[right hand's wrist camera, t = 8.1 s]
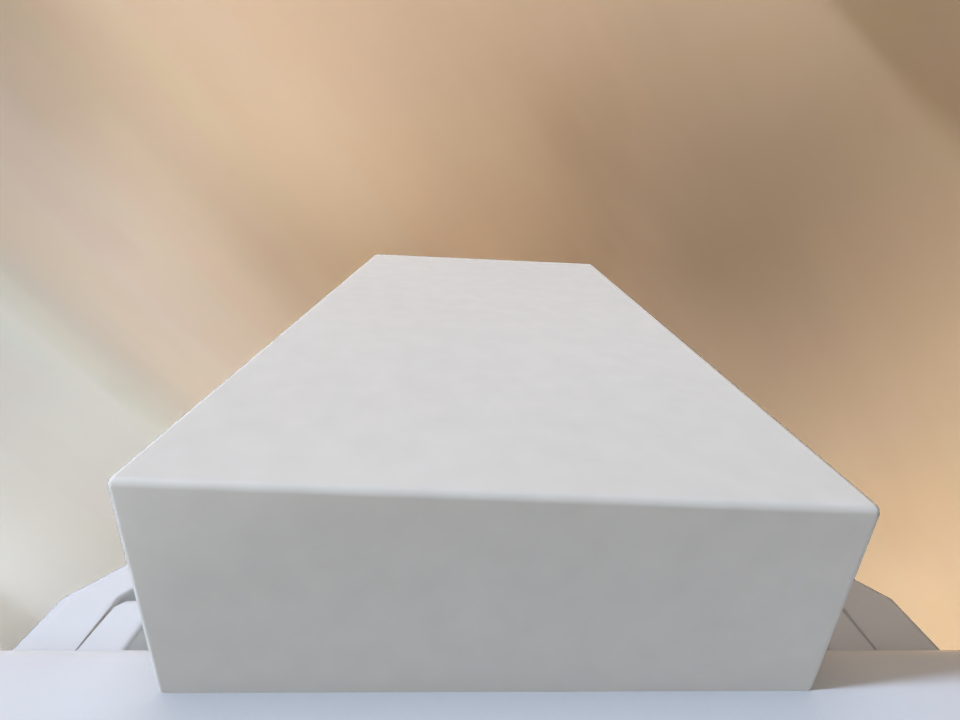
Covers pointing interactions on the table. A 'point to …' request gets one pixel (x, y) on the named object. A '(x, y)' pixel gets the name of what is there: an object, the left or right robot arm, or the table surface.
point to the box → (484, 503)
